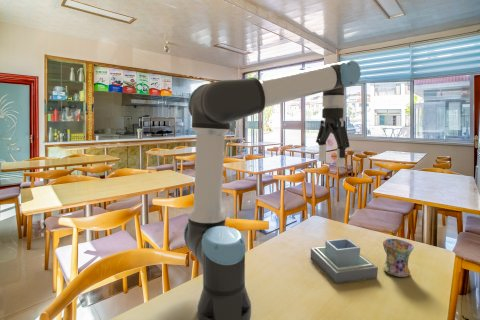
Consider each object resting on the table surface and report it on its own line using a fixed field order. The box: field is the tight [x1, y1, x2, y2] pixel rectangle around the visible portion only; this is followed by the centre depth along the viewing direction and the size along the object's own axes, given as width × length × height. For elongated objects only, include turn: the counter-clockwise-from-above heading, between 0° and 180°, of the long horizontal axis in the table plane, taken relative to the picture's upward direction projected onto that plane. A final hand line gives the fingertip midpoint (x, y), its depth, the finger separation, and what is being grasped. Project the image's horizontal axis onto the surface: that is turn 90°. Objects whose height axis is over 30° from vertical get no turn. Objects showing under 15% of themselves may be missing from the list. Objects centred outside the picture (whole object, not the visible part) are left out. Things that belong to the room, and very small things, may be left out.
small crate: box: [324, 238, 361, 268], centre depth 106 cm, size 9×8×8 cm
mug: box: [382, 238, 414, 278], centre depth 104 cm, size 12×9×11 cm
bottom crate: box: [310, 246, 379, 285], centre depth 107 cm, size 16×19×4 cm
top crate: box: [314, 246, 372, 271], centre depth 106 cm, size 13×16×4 cm
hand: (330, 163), depth 112 cm, fingers open, 13 cm apart
